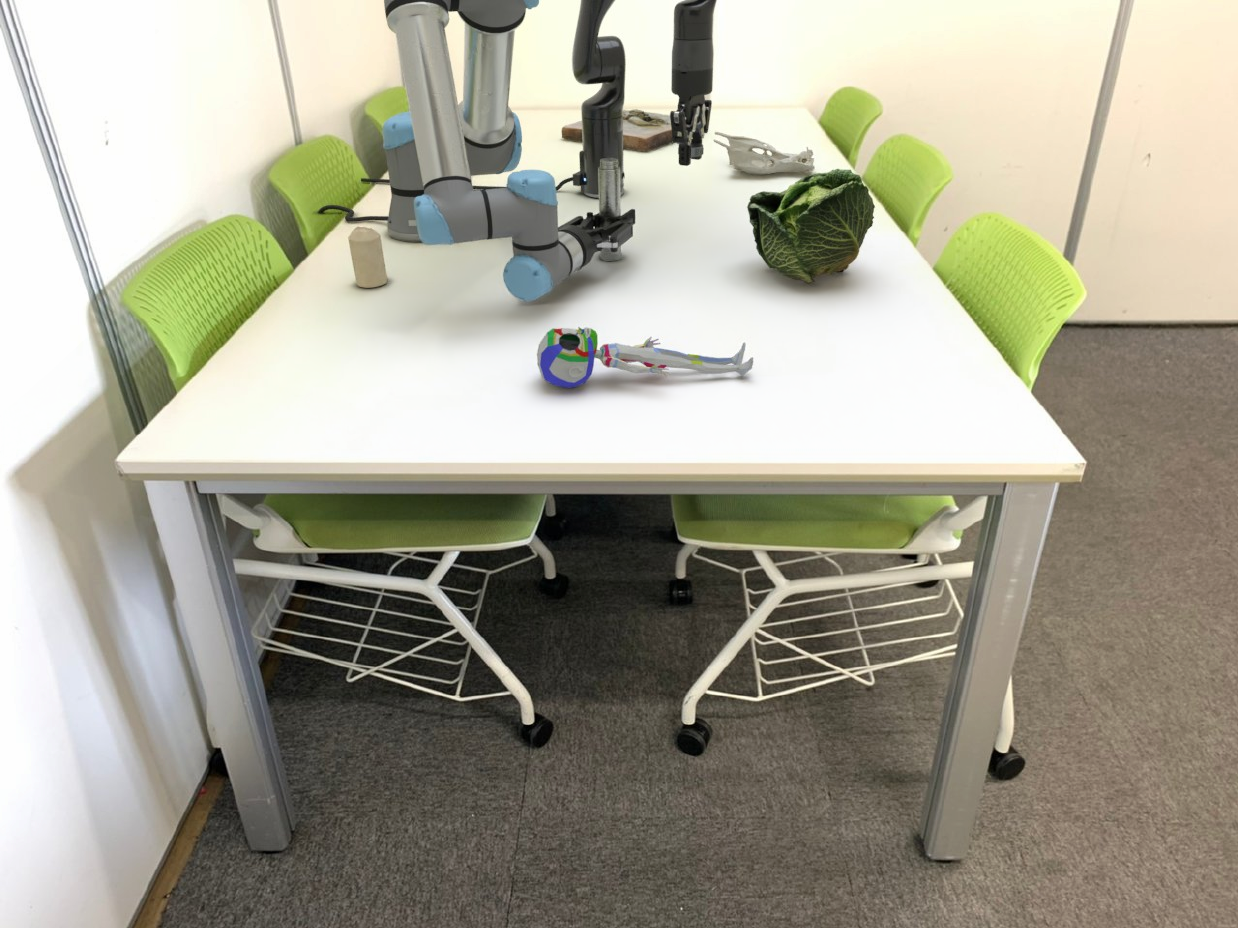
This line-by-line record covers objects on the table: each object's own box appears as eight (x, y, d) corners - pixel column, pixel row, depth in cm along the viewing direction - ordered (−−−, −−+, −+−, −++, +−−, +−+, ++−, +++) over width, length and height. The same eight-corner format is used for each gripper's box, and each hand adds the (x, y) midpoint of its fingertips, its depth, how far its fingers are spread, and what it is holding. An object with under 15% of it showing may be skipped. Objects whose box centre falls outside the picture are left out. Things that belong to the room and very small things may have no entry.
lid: (678, 151, 173) (678, 142, 172) (703, 151, 172) (704, 142, 172) (677, 157, 169) (677, 148, 168) (702, 157, 168) (703, 148, 168)
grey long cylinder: (623, 260, 170) (622, 161, 161) (602, 262, 170) (600, 163, 160) (618, 253, 174) (617, 156, 164) (598, 255, 173) (596, 158, 163)
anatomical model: (715, 128, 226) (815, 127, 222) (715, 165, 231) (813, 164, 227) (711, 142, 214) (818, 141, 210) (711, 181, 219) (815, 181, 215)
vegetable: (773, 300, 170) (724, 207, 162) (854, 244, 171) (810, 148, 164) (823, 314, 152) (771, 210, 144) (914, 251, 153) (867, 144, 145)
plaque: (647, 125, 237) (559, 112, 252) (647, 153, 241) (560, 139, 256) (706, 107, 258) (622, 97, 273) (705, 133, 262) (622, 121, 277)
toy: (760, 356, 123) (541, 338, 118) (747, 410, 127) (536, 395, 123) (743, 326, 131) (539, 309, 127) (732, 378, 136) (534, 363, 131)
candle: (393, 278, 163) (384, 224, 158) (377, 289, 159) (367, 234, 154) (367, 275, 165) (358, 222, 160) (350, 286, 160) (340, 231, 155)
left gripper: (523, 266, 159) (583, 228, 177) (610, 280, 153) (663, 239, 171) (520, 225, 155) (581, 190, 173) (609, 237, 149) (663, 200, 167)
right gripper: (689, 59, 169) (687, 152, 178) (656, 70, 159) (656, 168, 168) (726, 61, 166) (722, 156, 175) (695, 72, 156) (692, 172, 165)
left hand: (622, 214), depth 172 cm, fingers closed on grey long cylinder, 4 cm apart
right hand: (690, 161), depth 171 cm, fingers closed on lid, 4 cm apart
